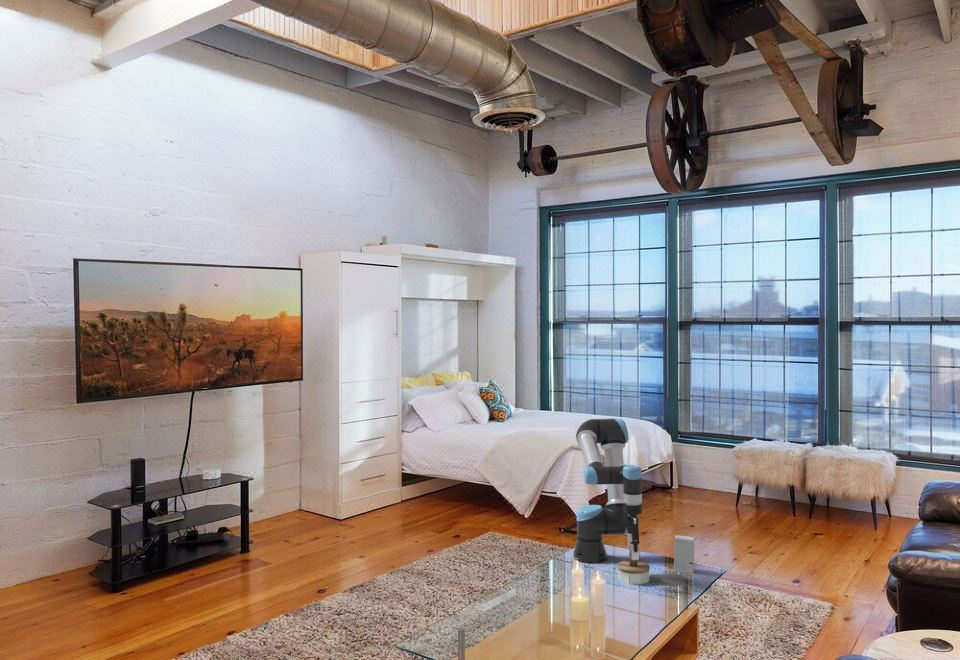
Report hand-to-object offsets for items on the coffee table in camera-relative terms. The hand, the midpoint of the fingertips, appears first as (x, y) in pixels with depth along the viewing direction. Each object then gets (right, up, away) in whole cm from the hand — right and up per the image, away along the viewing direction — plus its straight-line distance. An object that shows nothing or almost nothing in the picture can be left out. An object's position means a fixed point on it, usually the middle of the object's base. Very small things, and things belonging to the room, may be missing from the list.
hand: (633, 554), depth 298 cm
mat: (+14, -11, -1) cm, 18 cm away
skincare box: (+24, -11, +10) cm, 28 cm away
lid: (0, -6, 0) cm, 6 cm away
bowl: (0, -11, 0) cm, 11 cm away
